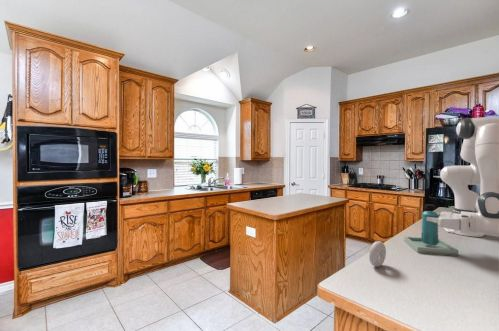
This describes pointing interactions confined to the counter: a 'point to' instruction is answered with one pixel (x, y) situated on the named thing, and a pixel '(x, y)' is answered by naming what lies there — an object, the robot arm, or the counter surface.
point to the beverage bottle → (429, 226)
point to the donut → (377, 253)
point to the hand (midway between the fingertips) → (427, 216)
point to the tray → (430, 247)
